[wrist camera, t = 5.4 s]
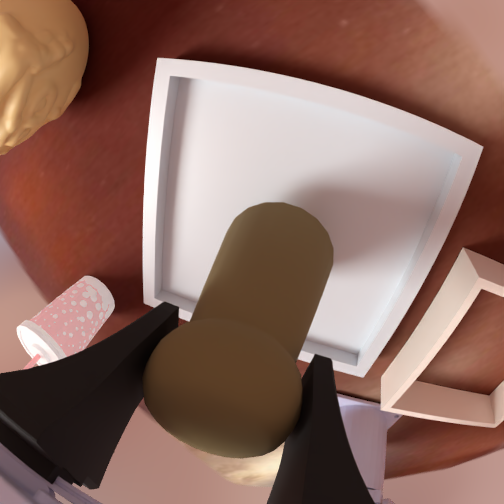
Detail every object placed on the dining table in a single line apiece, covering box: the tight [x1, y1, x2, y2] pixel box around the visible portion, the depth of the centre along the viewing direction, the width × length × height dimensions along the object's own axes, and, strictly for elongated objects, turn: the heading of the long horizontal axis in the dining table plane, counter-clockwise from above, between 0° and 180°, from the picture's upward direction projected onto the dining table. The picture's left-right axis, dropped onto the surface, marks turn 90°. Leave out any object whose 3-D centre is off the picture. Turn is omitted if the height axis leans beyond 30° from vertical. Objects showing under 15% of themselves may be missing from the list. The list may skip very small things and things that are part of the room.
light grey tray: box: [143, 58, 483, 377], centre depth 19 cm, size 18×18×2 cm
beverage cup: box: [17, 276, 115, 370], centre depth 24 cm, size 6×6×14 cm
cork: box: [142, 202, 334, 458], centre depth 13 cm, size 6×6×11 cm
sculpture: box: [0, 0, 89, 155], centre depth 14 cm, size 12×12×11 cm
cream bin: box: [381, 247, 504, 428], centre depth 19 cm, size 13×13×4 cm
